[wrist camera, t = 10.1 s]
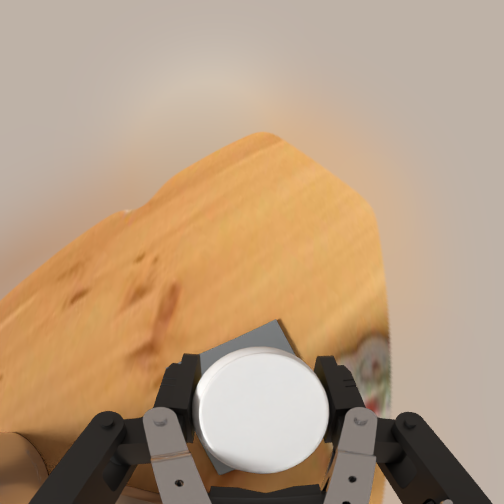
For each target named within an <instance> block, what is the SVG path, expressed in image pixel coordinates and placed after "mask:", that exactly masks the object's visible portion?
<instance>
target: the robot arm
mask: <svg viewBox="0 0 504 504" xmlns="http://www.w3.org/2000/svg"><path fill="white" fill-rule="evenodd" d="M314 373H315V374H316V375H317V377H318V378H319V380H320V382H321V384H322V386H323V388H324V390H325V392H326V395H327V399H328V404H329V420H328V425H327V429H326V432H325V435H324V437H323V438H324V442H325V443H329V442H332V443H333V450H332V452H331V456H330V459H329V463H328V466H327V470H326V473H325V476H324V480H323V483H322V485H321V488H320V487H319V484H315V485H305V486H293V487H289V488H286V489H282V490H278V491H274V492H270V493H261V492H256V491H251V490H246V489H242V488H234V487H214V486H211V490H210V493H207V492H206V490H205V487H204V485H203V483H202V480H201V478H200V475H199V473H198V470H197V468H196V465H195V463H194V460H193V458H192V455H191V453H190V452H189V450H188V448H187V445H186V442H188V443H193V439H194V433H195V428H194V424H193V419H192V401H193V396H194V393H195V389H196V387H197V385H198V383H199V381H200V379H201V378H202V373H201V361H200V355H199V354H185V353H184V354H183V357H182V361H181V364H178V363H172V364H171V365H170V366H169V367H168V368H167V369H166V371H165V374H164V377H163V380H162V383H161V386H160V389H159V392H158V395H157V398H156V401H155V404H154V407H153V408H152V409H150V410H148V411H147V412H146V413H145V414H144V416H143V417H141V418H136V419H125V420H123V418H122V417H121V416H120V415H119V414H118V413H116V412H112V411H105V412H101V413H99V414H97V415H96V416H95V417H94V418H93V419H92V421H91V422H90V423H89V424H88V426H87V427H86V428H85V430H84V431H83V432H82V433H81V435H80V436H79V437H78V439H77V440H76V441H75V442H74V444H73V445H72V446H71V448H70V449H69V450H68V451H67V453H66V454H65V455H64V457H63V458H62V459H61V461H60V462H59V463H58V465H57V466H56V467H55V468H54V470H53V471H52V472H51V474H50V475H49V476H48V472H47V469H46V467H45V464H44V462H43V460H42V458H41V456H40V454H39V453H38V451H37V450H36V449H35V447H34V446H33V445H32V444H31V443H30V442H29V441H28V440H27V439H26V438H24V437H23V436H21V435H19V434H17V433H12V432H0V504H115V503H116V501H117V500H118V498H119V496H120V494H121V493H122V491H123V489H124V487H125V486H126V484H127V482H128V480H129V479H130V477H131V475H132V473H133V472H134V470H135V468H136V466H137V465H138V464H146V463H151V464H152V468H153V471H154V475H155V479H156V482H157V486H158V489H159V493H160V496H161V499H162V502H163V504H369V499H370V494H371V489H372V483H373V477H374V471H375V464H376V462H377V464H378V466H379V467H380V469H381V470H382V472H383V474H384V475H385V477H386V478H387V480H388V482H389V483H390V485H391V486H392V488H393V489H394V491H395V492H396V494H397V496H398V497H399V499H400V501H401V502H402V504H492V503H491V501H490V500H489V499H488V497H487V496H486V495H485V494H484V492H483V491H482V490H481V489H480V487H479V486H478V485H477V484H476V482H475V481H474V480H473V479H472V477H471V476H470V475H469V474H468V473H467V471H466V470H465V469H464V468H463V466H462V465H461V464H460V463H459V462H458V460H457V459H456V458H455V457H454V455H453V454H452V453H451V452H450V451H449V449H448V448H447V447H446V446H445V445H444V443H443V442H442V441H441V440H440V439H439V437H438V436H437V435H436V434H435V433H434V431H433V430H432V429H431V428H430V427H429V425H428V424H427V423H426V422H425V421H424V420H423V418H422V417H421V416H419V415H418V414H416V413H412V412H404V413H401V414H399V415H398V416H397V418H396V420H392V419H382V418H378V417H377V416H376V415H375V413H374V412H373V411H371V410H370V409H367V408H366V407H365V405H364V402H363V400H362V398H361V395H360V393H359V390H358V388H357V387H356V383H355V381H354V379H353V376H352V374H351V372H350V371H349V370H348V369H347V368H346V367H345V366H344V365H338V366H337V363H336V361H335V358H334V356H317V358H316V363H315V368H314Z"/></svg>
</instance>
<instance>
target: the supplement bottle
mask: <svg viewBox="0 0 504 504" xmlns="http://www.w3.org/2000/svg"><path fill="white" fill-rule="evenodd" d="M192 419H193V424H194V428H195V430H196V433H197V435H198V437H199V439H200V441H201V442H202V444H203V445H204V446H205V448H206V449H207V450H208V451H209V452H210V453H211V454H212V455H213V456H214V457H215V458H217V459H218V460H219V461H221V462H222V463H224V464H226V465H228V466H230V467H232V468H235V469H238V470H241V471H245V472H251V473H259V474H267V473H276V472H280V471H284V470H287V469H289V468H292V467H294V466H296V465H298V464H299V463H301V462H302V461H304V460H305V459H306V458H308V457H309V456H310V455H311V454H312V453H313V452H314V451H315V449H316V448H317V447H318V445H319V444H320V442H321V441H322V439H323V437H324V435H325V432H326V429H327V425H328V420H329V404H328V399H327V395H326V392H325V390H324V388H323V386H322V384H321V382H320V380H319V378H318V377H317V375H316V374H315V373H314V372H313V370H312V369H311V368H310V367H309V366H308V365H307V364H306V363H305V362H303V361H302V360H301V359H300V358H298V357H297V356H295V355H293V354H291V353H289V352H286V351H284V350H281V349H277V348H272V347H248V348H244V349H240V350H236V351H234V352H231V353H229V354H227V355H225V356H224V357H222V358H220V359H219V360H218V361H216V362H215V363H214V364H213V365H212V366H211V367H209V369H208V370H207V371H206V372H205V373H204V374H203V376H202V378H201V379H200V381H199V383H198V385H197V387H196V389H195V393H194V396H193V401H192Z"/></svg>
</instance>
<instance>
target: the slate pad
mask: <svg viewBox="0 0 504 504" xmlns="http://www.w3.org/2000/svg"><path fill="white" fill-rule="evenodd" d="M248 347H272V348H277V349H281V350H284V351H286V352H289V353H291V354H293V355H295V354H294V352H293V350H292V348H291V346H290V344H289V343H288V341H287V339H286V337H285V335H284V333H283V331H282V330H281V328H280V326H279V324H278V322H277V320H276V319H275V320H273V321H271V322H269V323H267V324H265V325H263V326H261V327H259V328H257V329H254V330H252V331H250V332H248V333H246V334H244V335H242V336H239V337H237V338H235V339H233V340H231V341H228V342H226V343H224V344H222V345H219V346H217V347H215V348H212V349H210V350H208V351H206V352H203V353H201V354H199V355H200V361H201V373H202V376H203V374H204V373H205V372H206V371H207V370H208V369H209V367H211V366H212V365H213V364H214V363H215V362H216V361H218V360H219V359H220V358H222V357H224V356H225V355H227V354H229V353H231V352H234V351H236V350H240V349H244V348H248ZM178 364H181V362H179V363H178ZM167 368H168V367H167ZM167 368H166V369H167ZM195 432H196V430H195ZM196 434H197V433H196ZM197 436H198V435H197ZM198 438H199V437H198ZM199 440H200V439H199ZM200 442H201V441H200ZM201 444H202V442H201ZM202 445H203V444H202ZM203 447H204V449H205V451H206V453H207V455H208V457H209V458H210V460H211V462H212V464H213V465H214V467H215V469H216V471H217V472H218V474H219V475H222V474H225V473H227V472H230V471H232V470H235V468H232V467H230V466H228V465H226V464H224V463H222V462H221V461H219V460H218V459H217V458H215V457H214V456H213V455H212V454H211V453H210V452H209V451H208V450H207V449H206V448H205V446H204V445H203Z"/></svg>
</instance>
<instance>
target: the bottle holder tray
mask: <svg viewBox="0 0 504 504" xmlns="http://www.w3.org/2000/svg"><path fill="white" fill-rule="evenodd" d="M115 504H163V502H162V499H161V496H160V494H159V493H154V492H150V491H145V490H141V489H137V488H133V487H130V486H125V487H124V489H123V491H122V493H121V494H120V496H119V498H118V500H117V501H116V503H115Z"/></svg>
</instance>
